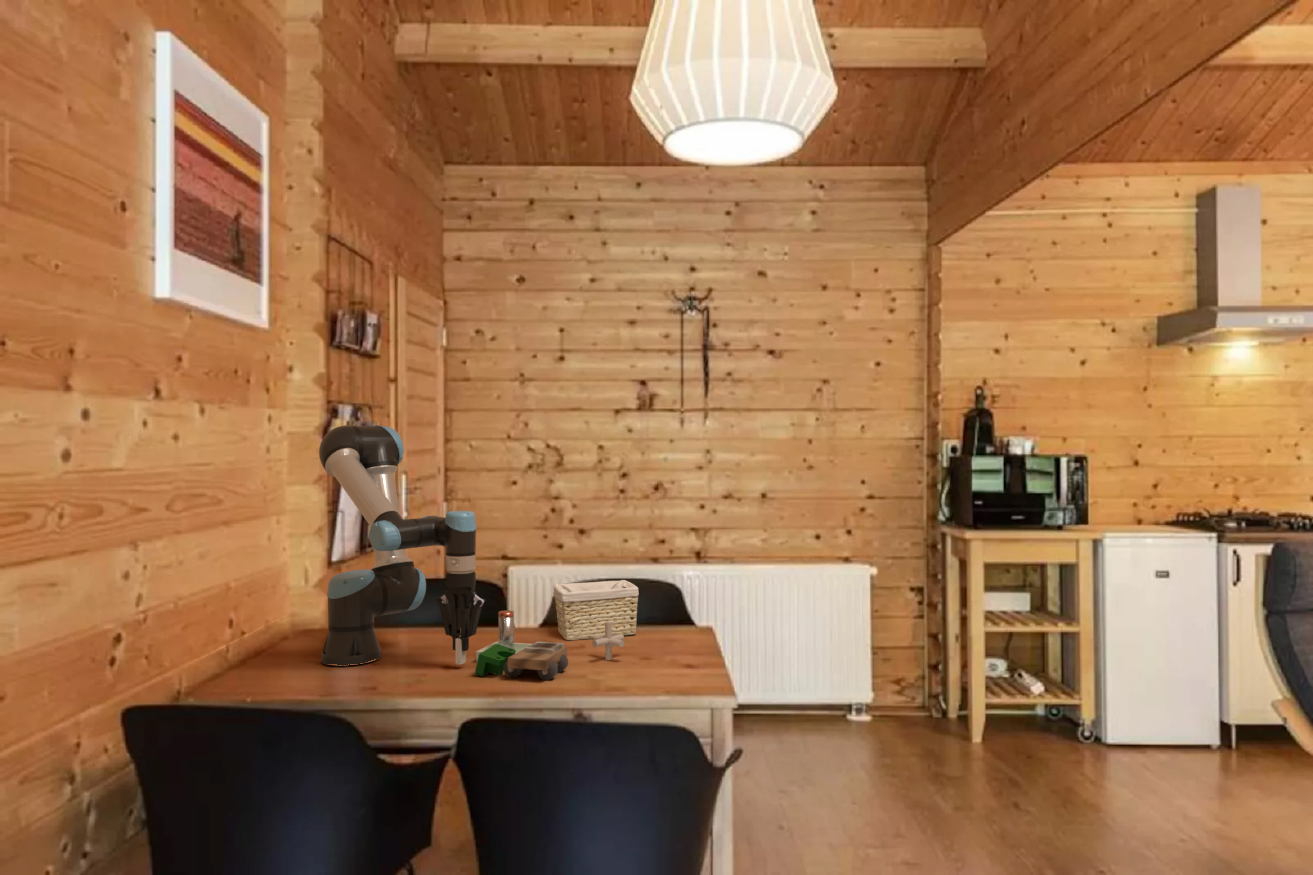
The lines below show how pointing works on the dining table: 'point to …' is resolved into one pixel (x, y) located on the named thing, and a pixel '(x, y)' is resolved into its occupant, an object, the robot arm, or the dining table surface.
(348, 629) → the robot arm
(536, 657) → the trolley
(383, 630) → the dining table surface
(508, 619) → the pin
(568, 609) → the storage basket
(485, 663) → the clamp
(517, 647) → the tray
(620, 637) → the pipe connector
